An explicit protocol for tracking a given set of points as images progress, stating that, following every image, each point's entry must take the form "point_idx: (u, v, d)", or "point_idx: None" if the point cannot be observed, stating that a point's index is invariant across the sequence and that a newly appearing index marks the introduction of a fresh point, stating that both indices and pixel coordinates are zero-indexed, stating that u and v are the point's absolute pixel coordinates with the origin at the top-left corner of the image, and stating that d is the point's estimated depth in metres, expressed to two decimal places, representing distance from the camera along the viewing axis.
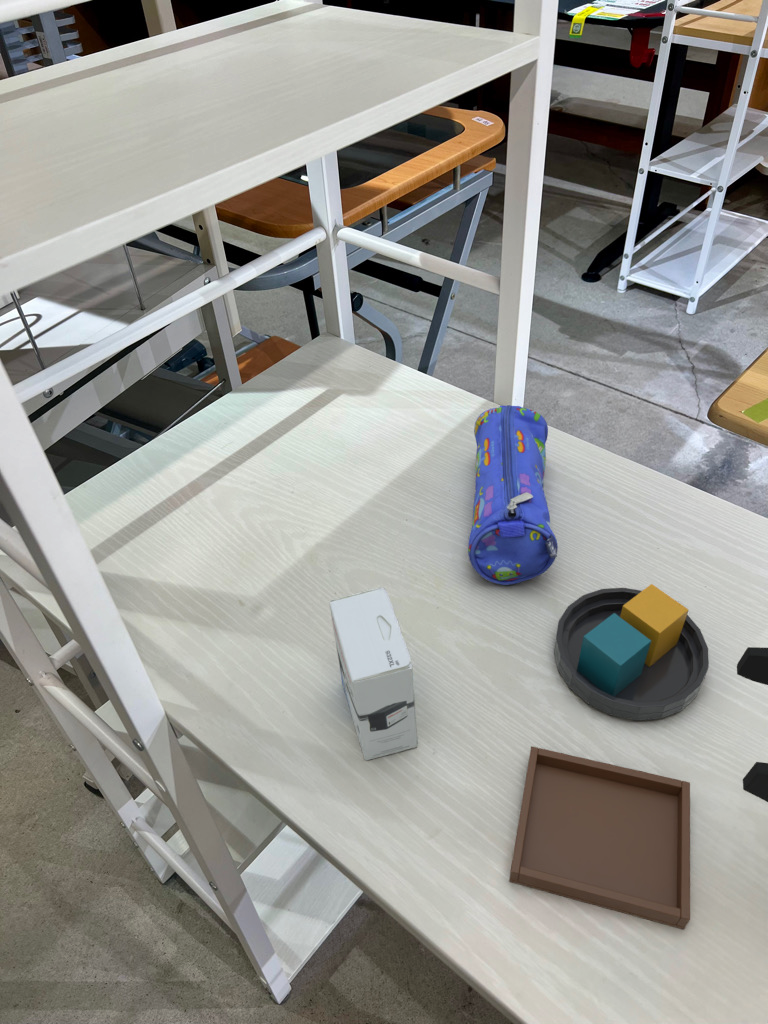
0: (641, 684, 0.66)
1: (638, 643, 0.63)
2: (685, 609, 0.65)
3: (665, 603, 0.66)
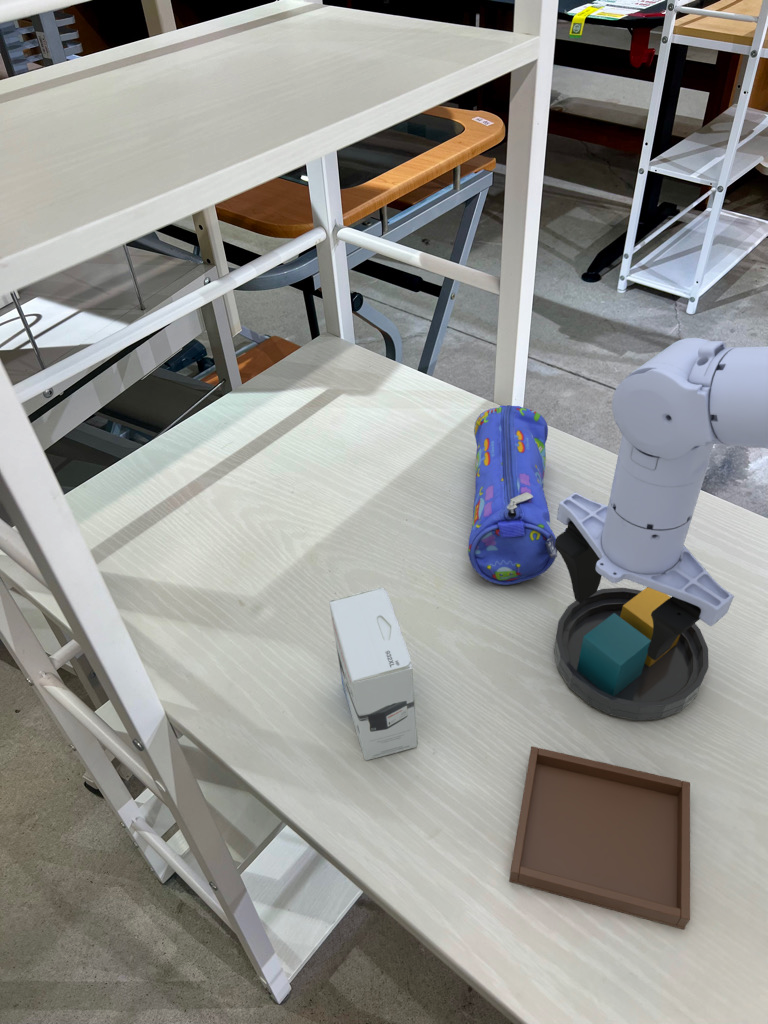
0: (641, 684, 0.66)
1: (638, 643, 0.63)
2: None
3: None
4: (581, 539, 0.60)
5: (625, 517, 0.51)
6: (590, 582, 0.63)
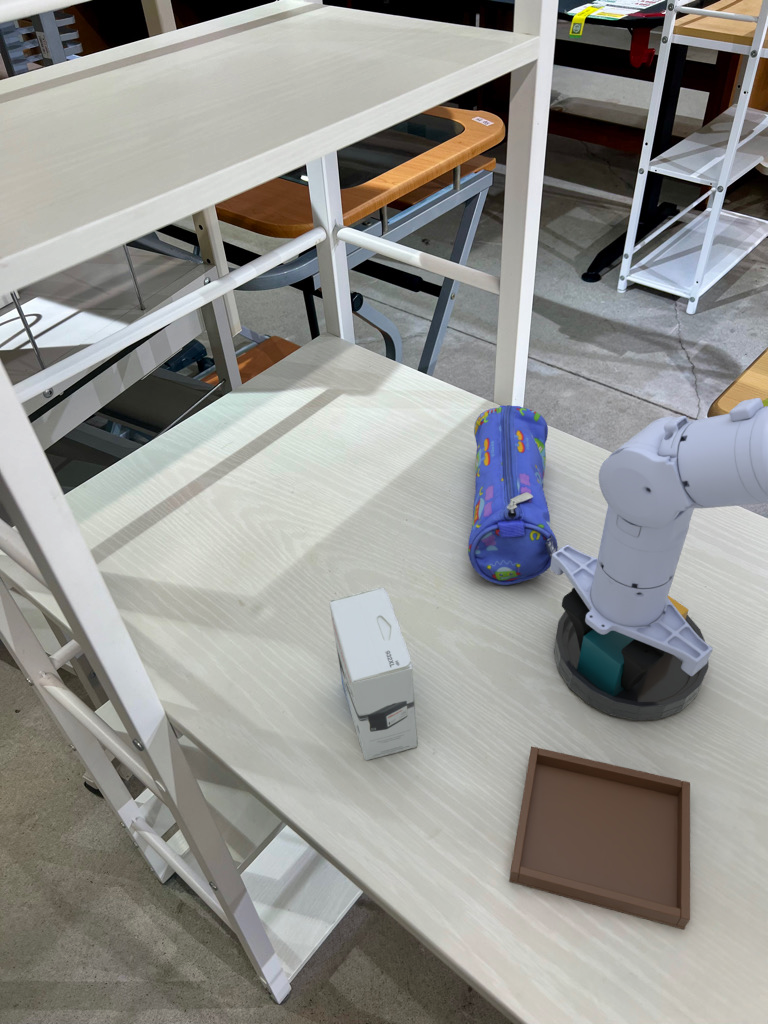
0: (641, 684, 0.66)
1: None
2: (685, 609, 0.65)
3: None
4: None
5: (612, 576, 0.56)
6: None
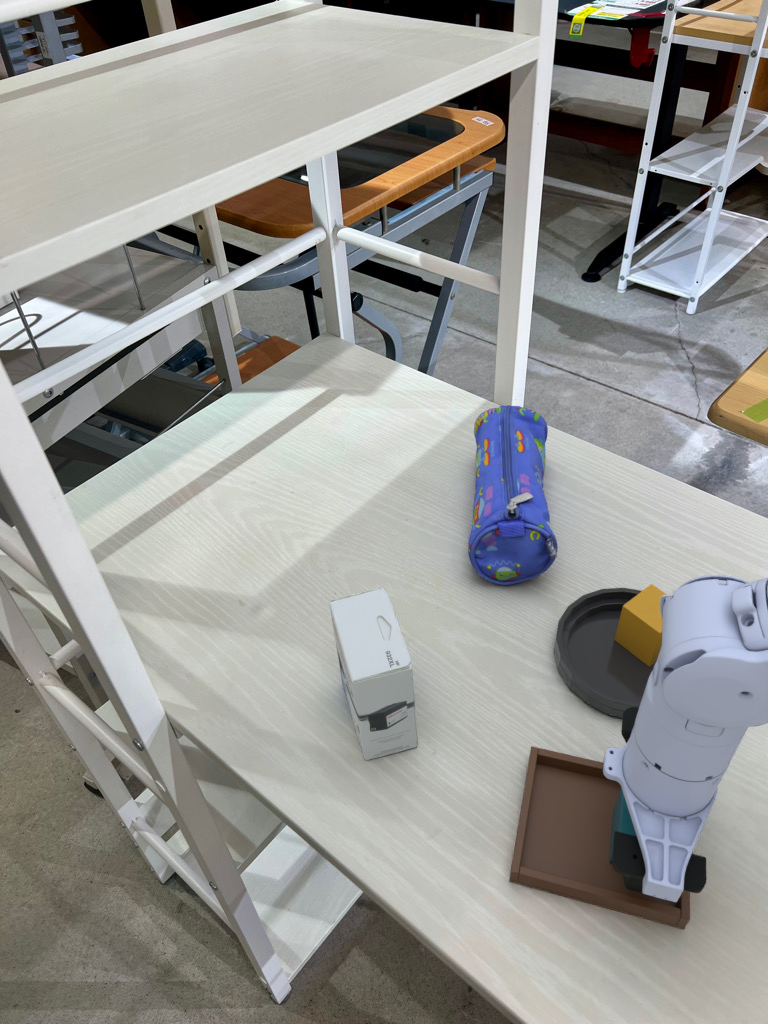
0: (641, 684, 0.66)
1: None
2: None
3: None
4: None
5: (678, 776, 0.43)
6: None
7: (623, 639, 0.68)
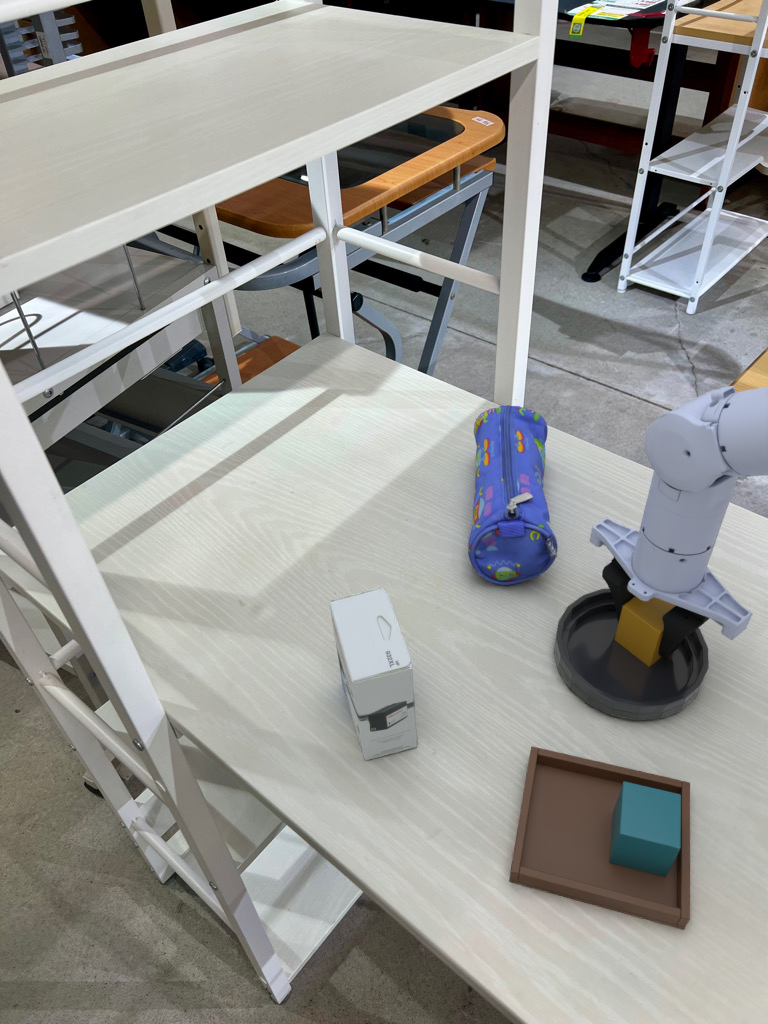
0: (641, 684, 0.66)
1: (664, 837, 0.51)
2: None
3: (665, 603, 0.66)
4: None
5: (651, 539, 0.58)
6: None
7: (623, 639, 0.68)
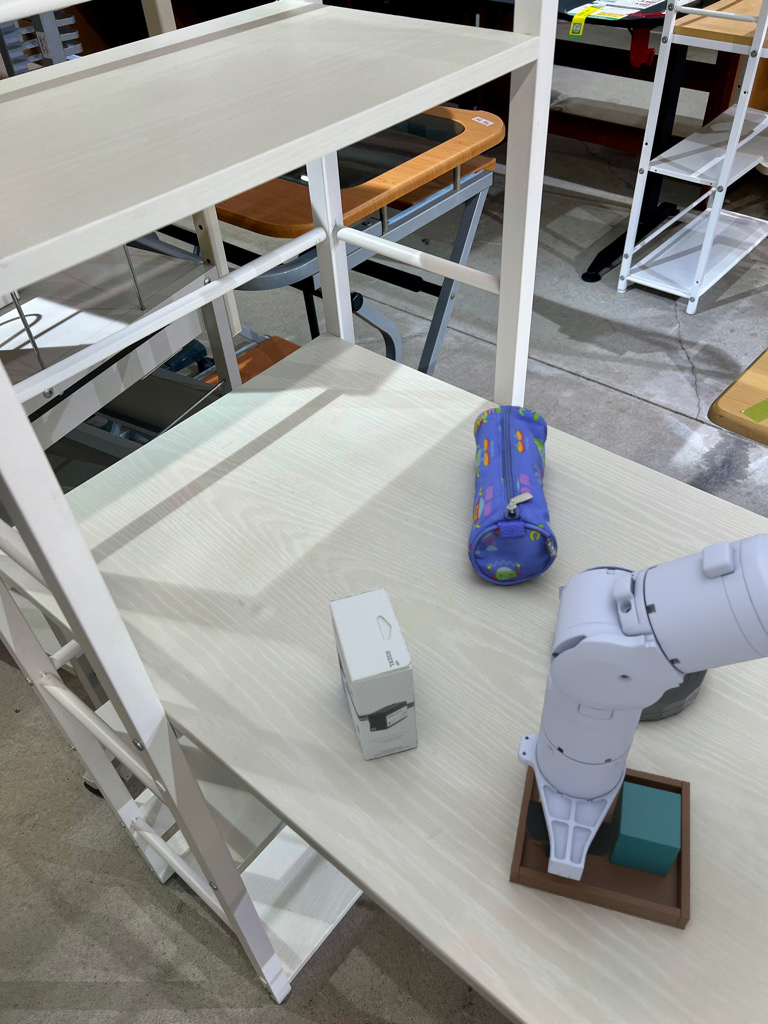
0: None
1: (664, 837, 0.51)
2: None
3: None
4: None
5: (578, 759, 0.45)
6: None
7: (539, 798, 0.58)
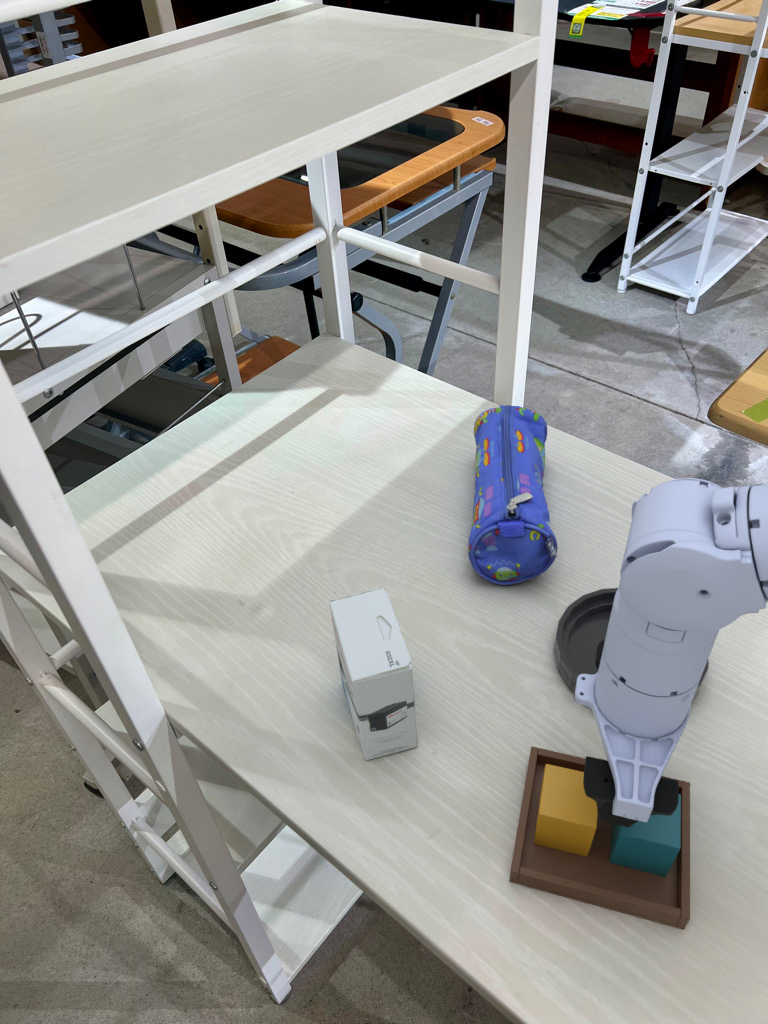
0: None
1: (664, 837, 0.51)
2: (594, 824, 0.52)
3: (584, 801, 0.53)
4: None
5: (642, 690, 0.43)
6: None
7: (539, 799, 0.58)
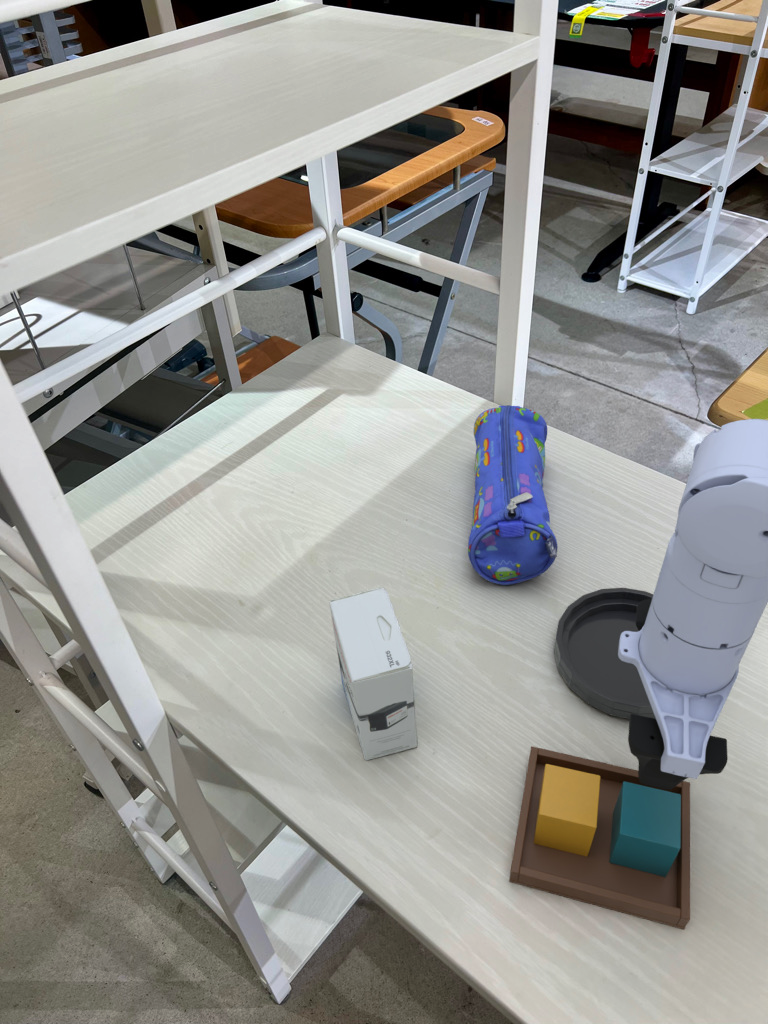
0: (641, 684, 0.66)
1: (664, 837, 0.51)
2: (594, 823, 0.52)
3: (584, 801, 0.53)
4: None
5: (690, 640, 0.41)
6: None
7: (539, 799, 0.58)
